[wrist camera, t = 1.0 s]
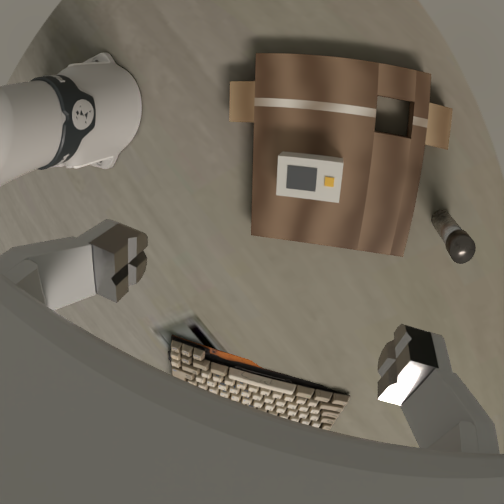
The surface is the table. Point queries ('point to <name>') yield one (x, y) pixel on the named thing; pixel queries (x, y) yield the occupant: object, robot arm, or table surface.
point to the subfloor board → (338, 147)
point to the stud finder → (309, 176)
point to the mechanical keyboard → (255, 384)
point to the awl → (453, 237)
